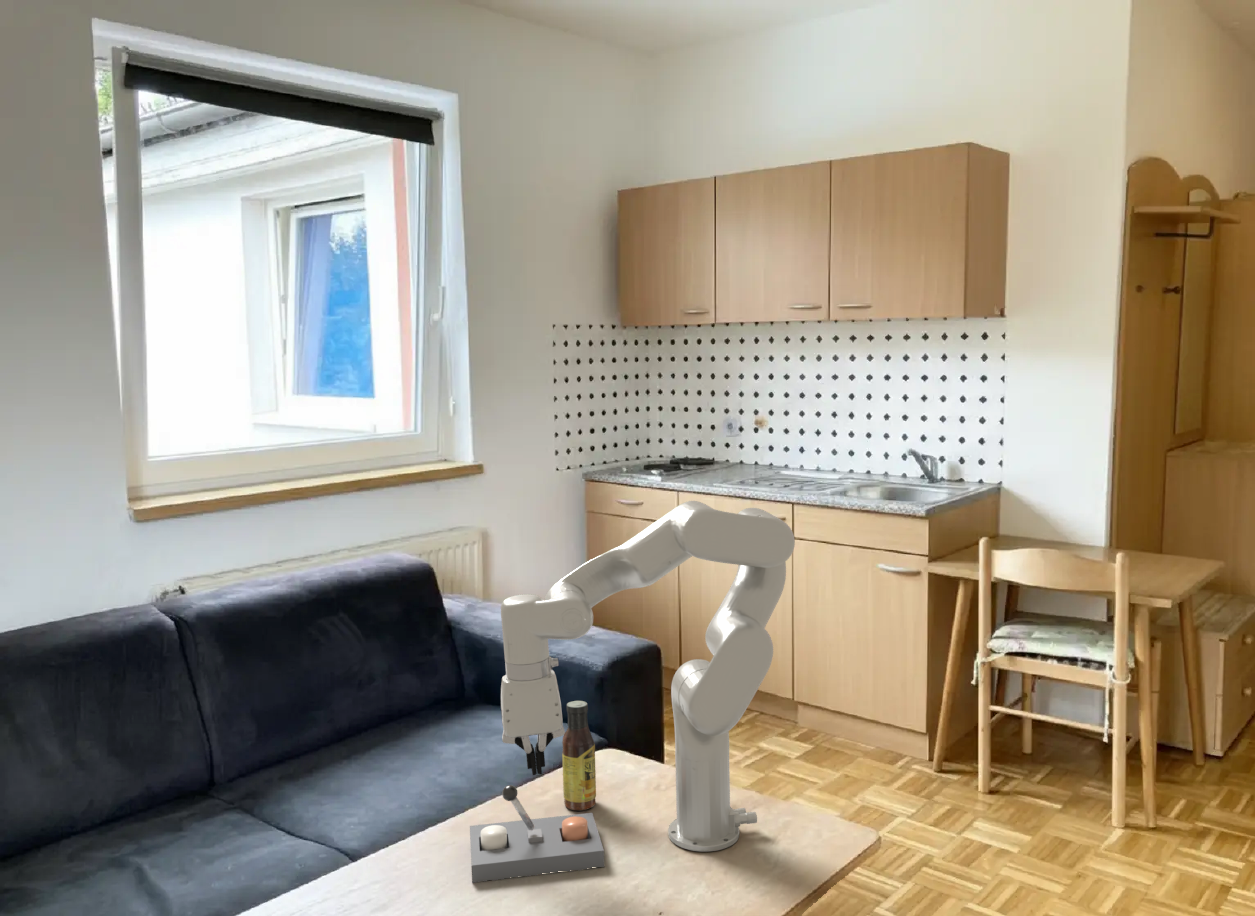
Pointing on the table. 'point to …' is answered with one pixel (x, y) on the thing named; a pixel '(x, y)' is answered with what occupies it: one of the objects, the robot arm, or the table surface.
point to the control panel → (535, 850)
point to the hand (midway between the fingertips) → (536, 771)
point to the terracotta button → (574, 829)
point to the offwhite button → (493, 837)
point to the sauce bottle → (578, 759)
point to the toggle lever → (517, 805)
